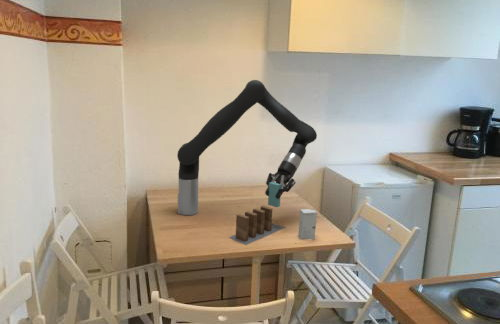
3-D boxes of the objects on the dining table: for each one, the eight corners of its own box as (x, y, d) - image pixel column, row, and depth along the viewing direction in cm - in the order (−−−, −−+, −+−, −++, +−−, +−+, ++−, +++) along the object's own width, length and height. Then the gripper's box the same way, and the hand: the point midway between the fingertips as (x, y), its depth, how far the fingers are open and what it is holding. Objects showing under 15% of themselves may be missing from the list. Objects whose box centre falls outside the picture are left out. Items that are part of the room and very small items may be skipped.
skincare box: (301, 240, 175) (303, 213, 172) (297, 236, 179) (299, 209, 176) (315, 239, 176) (317, 212, 173) (311, 235, 180) (313, 208, 177)
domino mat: (268, 222, 193) (268, 221, 193) (285, 228, 186) (285, 227, 186) (227, 238, 174) (228, 237, 174) (245, 246, 168) (245, 245, 167)
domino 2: (247, 233, 179) (248, 210, 176) (256, 236, 176) (257, 214, 173) (244, 234, 177) (244, 212, 175) (252, 238, 174) (253, 215, 172)
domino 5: (271, 203, 187) (271, 181, 185) (279, 206, 184) (280, 184, 182) (268, 204, 186) (268, 182, 184) (277, 207, 183) (278, 185, 180)
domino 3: (255, 230, 182) (255, 208, 180) (263, 233, 179) (264, 211, 177) (252, 231, 181) (252, 209, 179) (260, 234, 178) (261, 212, 175)
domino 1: (239, 236, 175) (239, 213, 173) (248, 240, 172) (248, 217, 170) (235, 238, 174) (236, 215, 171) (244, 241, 170) (245, 218, 168)
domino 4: (262, 227, 186) (263, 205, 184) (271, 230, 183) (272, 208, 180) (259, 228, 185) (260, 206, 182) (268, 231, 181) (269, 209, 179)
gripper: (273, 157, 191) (255, 188, 185) (299, 163, 181) (281, 195, 175) (280, 166, 196) (262, 197, 190) (306, 172, 186) (288, 204, 181)
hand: (271, 196), depth 183 cm, fingers closed on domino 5, 5 cm apart
